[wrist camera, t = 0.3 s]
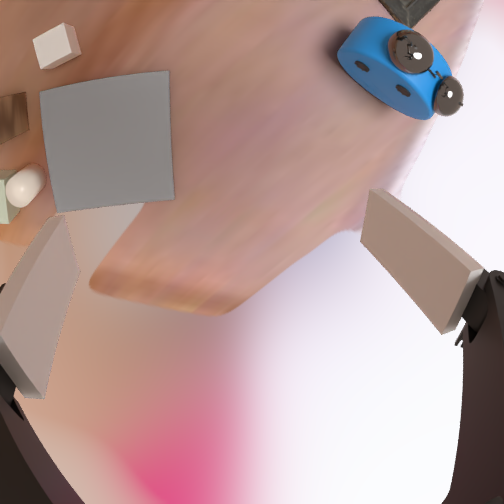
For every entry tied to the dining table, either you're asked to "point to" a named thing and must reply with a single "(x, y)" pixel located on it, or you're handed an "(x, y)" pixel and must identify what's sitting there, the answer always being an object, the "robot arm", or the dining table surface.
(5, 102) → the walnut block
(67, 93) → the grey mat
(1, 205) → the sage block
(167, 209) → the dining table surface
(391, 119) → the dining table surface
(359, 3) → the dining table surface
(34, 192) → the cream cylinder
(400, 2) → the painting
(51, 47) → the white cube
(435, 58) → the alarm clock
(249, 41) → the dining table surface
